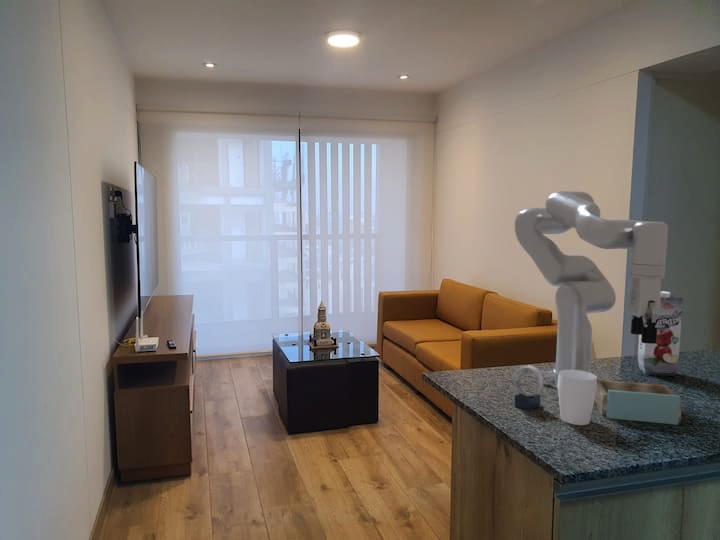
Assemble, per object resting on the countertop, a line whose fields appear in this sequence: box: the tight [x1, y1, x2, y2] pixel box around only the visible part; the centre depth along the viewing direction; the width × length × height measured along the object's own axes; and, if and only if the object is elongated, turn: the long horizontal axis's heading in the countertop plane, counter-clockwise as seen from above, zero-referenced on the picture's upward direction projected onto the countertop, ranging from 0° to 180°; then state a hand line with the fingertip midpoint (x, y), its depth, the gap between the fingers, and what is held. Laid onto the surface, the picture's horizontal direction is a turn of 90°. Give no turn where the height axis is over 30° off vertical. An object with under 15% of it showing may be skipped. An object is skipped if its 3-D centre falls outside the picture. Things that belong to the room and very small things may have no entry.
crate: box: [594, 379, 683, 424], centre depth 139 cm, size 18×12×6 cm
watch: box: [512, 364, 545, 412], centre depth 142 cm, size 6×8×11 cm
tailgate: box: [605, 390, 681, 426], centre depth 132 cm, size 16×1×7 cm, turn 76°
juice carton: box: [637, 290, 683, 377], centre depth 172 cm, size 9×10×27 cm
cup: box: [557, 370, 598, 426], centre depth 132 cm, size 9×9×12 cm
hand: (642, 338), depth 134 cm, fingers open, 9 cm apart
